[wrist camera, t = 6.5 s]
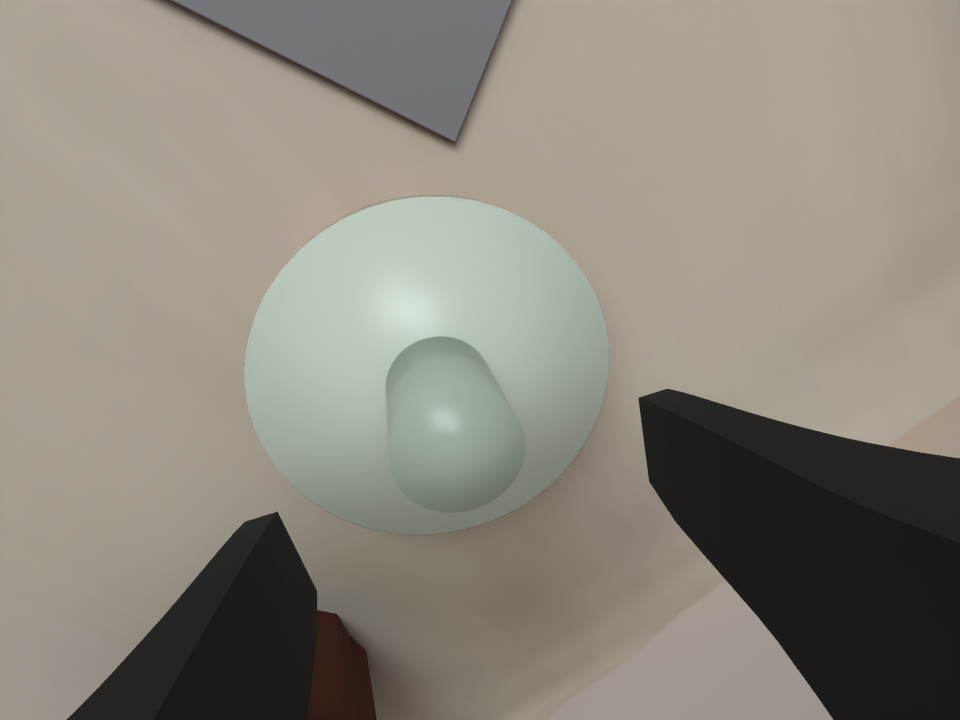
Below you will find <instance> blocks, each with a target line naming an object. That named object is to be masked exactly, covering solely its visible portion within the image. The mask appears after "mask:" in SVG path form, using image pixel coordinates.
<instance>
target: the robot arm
mask: <svg viewBox="0 0 960 720" xmlns="http://www.w3.org/2000/svg"><path fill="white" fill-rule="evenodd" d="M639 406H640V413H641V421H642V429H643V437H644V445H645V452H646V460H647V468H648V476H649V482H650V483H651V485H652V486H653V488H654V489H655V491H656V493H657V494H658V496H659V497H660V499H661V500H662V502H663V503H664V505H665V506H666V508H667V509H668V511H669V512H670V514H671V515H672V517H673V518H674V520H675V521H676V523H677V524H678V525H679V526H680V527H681V529H682V530H683V531H684V532H685V533H686V534H687V536H688V537H689V538H690V539H691V540H692V541H693V543H694V544H695V545H696V546H697V547H698V548H699V550H700V551H701V552H702V553H703V554H704V555H705V557H706V558H707V559H708V560H709V561H710V562H711V563H712V565H713V566H714V567H715V568H716V569H717V570H718V571H719V573H720V574H721V575H722V576H723V577H724V578H725V580H726V581H727V582H728V583H729V584H730V585H731V586H732V587H733V589H734V590H735V591H736V592H737V593H738V594H739V596H740V597H741V598H742V599H743V600H744V601H745V602H746V604H748V606H749V607H750V608H751V609H752V611H753V612H754V613H755V614H756V615H757V616H758V617H759V619H760V620H761V621H762V622H763V624H764V625H765V626H766V627H767V629H768V630H769V631H770V632H771V634H772V635H773V636H774V637H775V639H776V640H777V641H778V642H779V644H780V645H781V646H782V648H783V649H784V651H785V652H786V653H787V655H788V656H789V658H790V659H791V660H792V662H793V663H794V665H795V666H796V667H797V669H798V670H799V671H800V673H801V674H802V676H803V677H804V678H805V680H806V681H807V683H808V684H809V685H810V687H811V688H812V690H813V691H814V692H815V694H816V695H817V697H818V698H819V699H820V701H821V702H822V704H823V705H824V707H825V708H826V710H827V711H828V712H829V714H830V715H831V717H832V718H833V720H960V458H952V457H946V456H940V455H932V454H926V453H920V452H914V451H909V450H904V449H898V448H893V447H888V446H882V445H877V444H871V443H866V442H862V441H857V440H852V439H848V438H843V437H839V436H835V435H831V434H827V433H823V432H819V431H815V430H811V429H807V428H802V427H799V426H795V425H791V424H788V423H784V422H780V421H777V420H773V419H770V418H766V417H763V416H759V415H756V414H753V413H749V412H746V411H743V410H739V409H736V408H733V407H730V406H726V405H723V404H720V403H717V402H713V401H710V400H707V399H704V398H700V397H697V396H693V395H690V394H686V393H683V392H679V391H675V390H670V389H665V390H662V391H659V392H656V393H652V394H649V395H646V396H643V397H640V398H639ZM316 647H317V590H316V588H315V586H314V584H313V582H312V580H311V578H310V576H309V574H308V572H307V570H306V568H305V566H304V564H303V562H302V560H301V558H300V556H299V554H298V552H297V550H296V548H295V546H294V544H293V542H292V540H291V538H290V536H289V534H288V532H287V530H286V528H285V526H284V524H283V522H282V520H281V518H280V516H279V514H278V512H275V513H272V514H269V515H265V516H262V517H259V518H256V519H253V520H250V521H246V522H244V523H243V524H242V525H241V526H240V527H239V528H238V530H237V531H236V532H235V533H234V534H233V535H232V536H231V537H230V538H229V540H228V541H227V542H226V543H225V544H224V545H223V546H222V548H221V549H220V550H219V551H218V552H217V554H216V555H215V556H214V557H213V558H212V560H211V561H210V562H209V563H208V564H207V565H206V567H205V568H204V569H203V570H202V571H201V573H200V574H199V575H198V576H197V577H196V579H195V580H194V581H193V582H192V583H191V585H190V586H189V587H188V588H187V589H186V590H185V592H184V593H183V594H182V595H181V596H180V598H179V599H178V600H177V601H176V602H175V603H174V605H173V606H172V607H171V608H170V609H169V611H168V612H167V613H166V614H165V615H164V616H163V618H162V619H161V620H160V621H159V622H158V623H157V624H156V625H155V626H154V627H153V629H152V630H151V631H150V632H149V633H148V634H147V635H146V636H145V637H144V639H143V640H142V641H141V642H140V643H139V644H138V645H137V646H136V647H135V649H134V650H133V651H132V652H131V653H130V654H129V655H128V656H127V657H126V658H125V660H124V661H123V662H122V663H121V664H120V665H119V666H118V667H117V668H116V670H115V671H114V672H113V673H112V674H111V675H110V676H109V677H108V678H107V679H106V680H105V681H104V682H103V683H102V684H101V686H100V687H99V688H98V689H97V690H96V691H95V692H94V693H93V694H92V695H91V696H90V697H89V698H88V699H87V700H86V701H85V702H84V703H83V704H82V705H81V706H80V707H79V708H78V709H77V710H76V711H75V712H74V713H73V714H72V715H71V716H70V717H69V718H68V719H67V720H307V715H308V708H309V701H310V694H311V686H312V678H313V671H314V663H315V655H316Z"/></svg>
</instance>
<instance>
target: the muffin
mask: <svg viewBox="0 0 960 720" xmlns="http://www.w3.org/2000/svg"><path fill="white" fill-rule="evenodd" d="M307 720H377V719H376V713H375V706H374V700H373V693H372V687H371V680H370V674H369V667H368V661H367V654H366V651H365V650H364V649H363V648H362V647H361V646H360V645H359V644H358V643H357V642H356V641H355V640H354V639H353V638H352V637H351V636H350V635H349V634H348V632H347V630H346V629H345V627H344V625H343V624H342V622H341V620H340V619H339V617H338V616H337V614H334V613H329V612H323V611H318V610H317V647H316V655H315V663H314V671H313V678H312V686H311V694H310V701H309V708H308V715H307Z"/></svg>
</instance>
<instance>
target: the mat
mask: <svg viewBox="0 0 960 720" xmlns="http://www.w3.org/2000/svg"><path fill="white" fill-rule="evenodd" d="M170 1H172V2H174V3H176V4H178V5H180V6H182V7H184V8H186V9H188V10H190V11H192V12H194V13H196V14H198V15H200V16H202V17H204V18H206V19H208V20H210V21H212V22H214V23H216V24H218V25H220V26H222V27H224V28H226V29H228V30H230V31H232V32H234V33H236V34H238V35H240V36H242V37H244V38H246V39H248V40H250V41H252V42H254V43H256V44H258V45H260V46H262V47H264V48H266V49H268V50H270V51H272V52H274V53H276V54H278V55H280V56H282V57H284V58H286V59H288V60H290V61H292V62H294V63H296V64H298V65H300V66H302V67H304V68H306V69H308V70H310V71H312V72H314V73H316V74H318V75H320V76H322V77H324V78H326V79H328V80H330V81H332V82H334V83H336V84H338V85H340V86H342V87H344V88H346V89H348V90H350V91H352V92H354V93H356V94H358V95H360V96H362V97H364V98H366V99H368V100H370V101H372V102H374V103H376V104H378V105H380V106H382V107H384V108H386V109H388V110H390V111H392V112H394V113H396V114H398V115H400V116H402V117H404V118H406V119H408V120H410V121H412V122H414V123H416V124H418V125H420V126H422V127H424V128H426V129H428V130H430V131H432V132H434V133H436V134H438V135H440V136H442V137H444V138H446V139H448V140H450V141H452V142H455V141H456V138H457V136H458V133H459V131H460V128H461V126H462V123H463V121H464V118H465V116H466V113H467V111H468V108H469V106H470V103H471V101H472V98H473V96H474V93H475V91H476V88H477V86H478V83H479V81H480V78H481V76H482V73H483V71H484V68H485V66H486V63H487V61H488V58H489V56H490V53H491V51H492V48H493V46H494V43H495V41H496V38H497V36H498V33H499V31H500V28H501V26H502V23H503V21H504V18H505V16H506V13H507V11H508V8H509V6H510V3H511V1H512V0H170Z"/></svg>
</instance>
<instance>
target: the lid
mask: <svg viewBox="0 0 960 720" xmlns="http://www.w3.org/2000/svg"><path fill="white" fill-rule="evenodd" d="M608 371H609V342H608V336H607V330H606V324H605V320H604V317H603V314H602V310H601V307H600V304H599V301H598V299H597V297H596V295H595V293H594V291H593V288H592V286H591V284H590V282H589V281H588V279H587V278H586V276H585V275H584V273H583V272H582V270H581V269H580V267H579V266H578V264H577V263H576V262H575V261H574V259H573V258H572V257H571V256H570V255H569V254H568V253H567V252H566V250H565V249H564V248H563V247H562V246H561V245H560V244H558V243H557V242H556V241H555V240H554V239H553V238H551V237H550V236H549V235H548V234H547V233H545V232H544V231H543V230H541V229H540V228H538V227H536V226H535V225H533V224H532V223H530V222H528V221H527V220H525V219H524V218H522V217H519V216H517V215H515V214H512V213H510V212H508V211H506V210H503V209H501V208H499V207H496V206H493V205H490V204H486V203H482V202H479V201H475V200H472V199H467V198H460V197H452V196H445V195H419V196H412V197H405V198H397V199H392V200H388V201H385V202H381V203H378V204H374V205H371V206H368V207H365V208H363V209H361V210H358V211H356V212H354V213H352V214H349V215H347V216H345V217H343V218H341V219H340V220H338V221H336V222H335V223H333V224H332V225H330V226H328V227H327V228H325V229H323V230H322V231H321V232H319V233H318V234H317V235H316V236H315V237H313V238H312V239H311V240H310V241H309V242H307V243H306V244H305V245H304V246H303V247H302V248H301V249H300V250H299V251H298V252H297V253H296V254H295V255H294V256H293V258H292V259H291V260H290V261H289V262H288V263H287V264H286V265H285V267H284V268H283V269H282V270H281V271H280V273H279V274H278V276H277V277H276V279H275V280H274V282H273V283H272V285H271V286H270V288H269V289H268V291H267V292H266V294H265V296H264V298H263V300H262V302H261V305H260V307H259V309H258V311H257V313H256V315H255V318H254V321H253V325H252V328H251V331H250V335H249V338H248V343H247V350H246V357H245V392H246V398H247V404H248V410H249V413H250V417H251V420H252V423H253V426H254V429H255V432H256V434H257V436H258V438H259V440H260V442H261V444H262V446H263V448H264V450H265V452H266V454H267V455H268V457H269V458H270V459H271V461H272V462H273V464H274V465H275V467H276V468H277V470H278V471H279V472H280V473H281V474H282V475H283V476H284V477H285V479H286V480H287V481H288V482H289V483H290V484H291V485H292V486H293V487H294V488H295V489H296V490H297V491H299V492H300V493H301V494H302V495H303V496H305V497H306V498H307V499H308V500H310V501H311V502H313V503H314V504H316V505H317V506H319V507H320V508H322V509H324V510H325V511H327V512H328V513H330V514H333V515H335V516H337V517H339V518H341V519H343V520H345V521H347V522H350V523H353V524H356V525H359V526H362V527H365V528H368V529H373V530H378V531H383V532H387V533H396V534H406V535H432V534H440V533H449V532H455V531H459V530H463V529H468V528H472V527H475V526H478V525H481V524H484V523H487V522H490V521H493V520H495V519H497V518H499V517H501V516H504V515H506V514H508V513H510V512H512V511H514V510H515V509H517V508H519V507H520V506H522V505H524V504H525V503H527V502H529V501H530V500H532V499H533V498H534V497H536V496H537V495H538V494H540V493H541V492H542V491H544V490H545V489H546V488H547V487H548V486H549V485H550V484H551V483H553V482H554V481H555V480H556V479H557V478H558V477H559V476H560V475H561V474H562V473H563V472H564V470H565V469H566V468H567V467H568V466H569V465H570V463H571V462H572V461H573V460H574V459H575V457H576V456H577V454H578V453H579V451H580V450H581V448H582V447H583V445H584V444H585V442H586V441H587V439H588V437H589V435H590V433H591V431H592V429H593V427H594V425H595V423H596V420H597V418H598V415H599V412H600V410H601V407H602V404H603V400H604V396H605V391H606V387H607V381H608Z"/></svg>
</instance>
